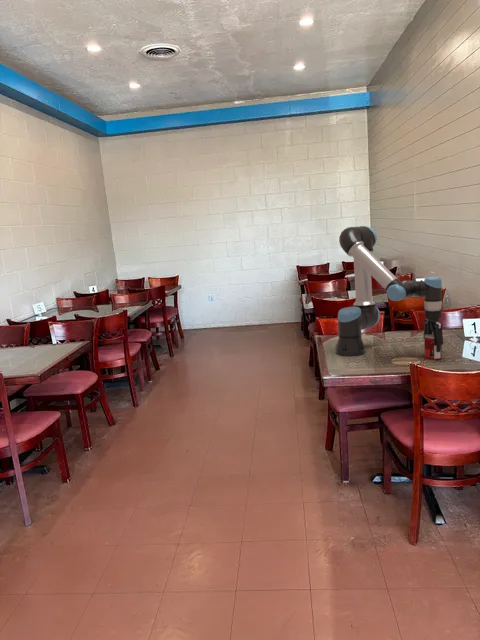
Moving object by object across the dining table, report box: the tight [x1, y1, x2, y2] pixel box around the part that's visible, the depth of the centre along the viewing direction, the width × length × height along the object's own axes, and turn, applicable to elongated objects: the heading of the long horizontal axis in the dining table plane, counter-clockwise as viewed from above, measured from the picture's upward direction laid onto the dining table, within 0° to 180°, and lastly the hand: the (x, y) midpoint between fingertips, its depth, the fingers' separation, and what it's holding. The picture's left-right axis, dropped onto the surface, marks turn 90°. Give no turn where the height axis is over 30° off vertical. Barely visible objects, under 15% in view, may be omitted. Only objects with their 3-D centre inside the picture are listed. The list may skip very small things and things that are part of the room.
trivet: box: [391, 356, 422, 367], centre depth 226 cm, size 13×13×1 cm
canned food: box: [423, 333, 443, 361], centre depth 230 cm, size 8×8×11 cm
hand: (433, 356), depth 230 cm, fingers closed on canned food, 8 cm apart
